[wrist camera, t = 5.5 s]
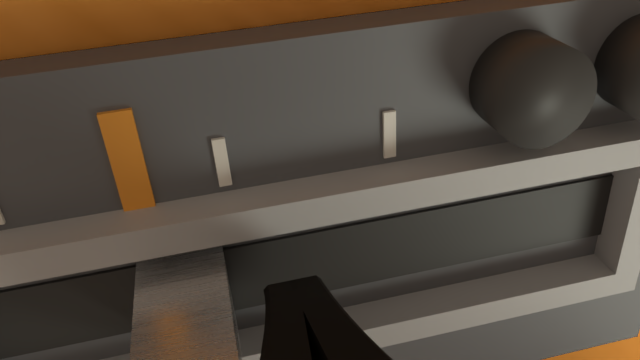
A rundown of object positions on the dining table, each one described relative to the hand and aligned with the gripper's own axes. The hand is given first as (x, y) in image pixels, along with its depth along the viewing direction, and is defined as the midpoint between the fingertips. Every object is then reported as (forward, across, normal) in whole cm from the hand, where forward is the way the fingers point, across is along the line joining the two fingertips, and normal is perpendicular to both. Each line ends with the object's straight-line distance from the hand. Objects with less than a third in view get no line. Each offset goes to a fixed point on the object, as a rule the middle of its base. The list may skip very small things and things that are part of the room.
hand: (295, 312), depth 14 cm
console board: (+3, -1, 0) cm, 3 cm away
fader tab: (+1, +2, 0) cm, 3 cm away
